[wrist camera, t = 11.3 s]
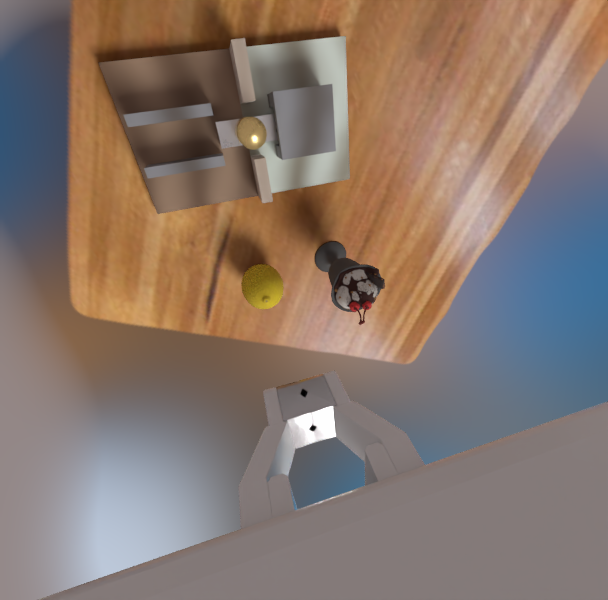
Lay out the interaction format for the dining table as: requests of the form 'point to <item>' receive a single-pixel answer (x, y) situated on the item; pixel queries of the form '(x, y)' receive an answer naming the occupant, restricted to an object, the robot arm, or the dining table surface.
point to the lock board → (234, 105)
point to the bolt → (247, 131)
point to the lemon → (262, 286)
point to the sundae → (349, 279)
